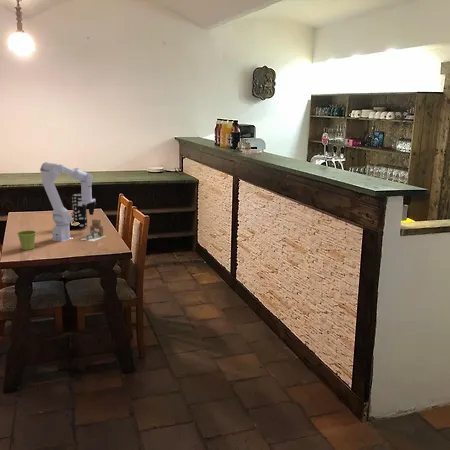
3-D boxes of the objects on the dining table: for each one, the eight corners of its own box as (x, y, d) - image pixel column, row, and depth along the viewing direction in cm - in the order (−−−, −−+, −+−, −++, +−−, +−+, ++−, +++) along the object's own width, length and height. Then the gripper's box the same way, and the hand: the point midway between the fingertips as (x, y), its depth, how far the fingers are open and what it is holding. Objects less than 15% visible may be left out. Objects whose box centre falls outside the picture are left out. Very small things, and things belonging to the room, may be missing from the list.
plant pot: (36, 250, 268) (35, 234, 266) (17, 251, 266) (16, 235, 264) (37, 245, 277) (36, 230, 275) (19, 246, 274) (18, 231, 272)
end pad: (101, 237, 294) (101, 237, 294) (89, 236, 297) (89, 235, 297) (105, 236, 298) (105, 235, 298) (92, 234, 301) (92, 234, 300)
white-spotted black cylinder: (82, 228, 316) (80, 196, 312) (70, 227, 319) (69, 195, 315) (90, 225, 324) (88, 194, 319) (78, 224, 327) (77, 193, 322)
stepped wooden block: (100, 236, 295) (100, 221, 293) (90, 235, 298) (89, 219, 295) (103, 235, 298) (102, 220, 295) (92, 234, 300) (92, 219, 298)
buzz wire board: (93, 242, 287) (93, 233, 285) (79, 240, 290) (79, 231, 288) (106, 236, 298) (106, 228, 297) (93, 235, 301) (92, 226, 300)
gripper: (85, 195, 293) (86, 219, 296) (99, 191, 306) (100, 214, 309) (74, 194, 295) (75, 217, 298) (89, 191, 308) (90, 213, 311)
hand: (87, 215), depth 304 cm, fingers open, 7 cm apart
